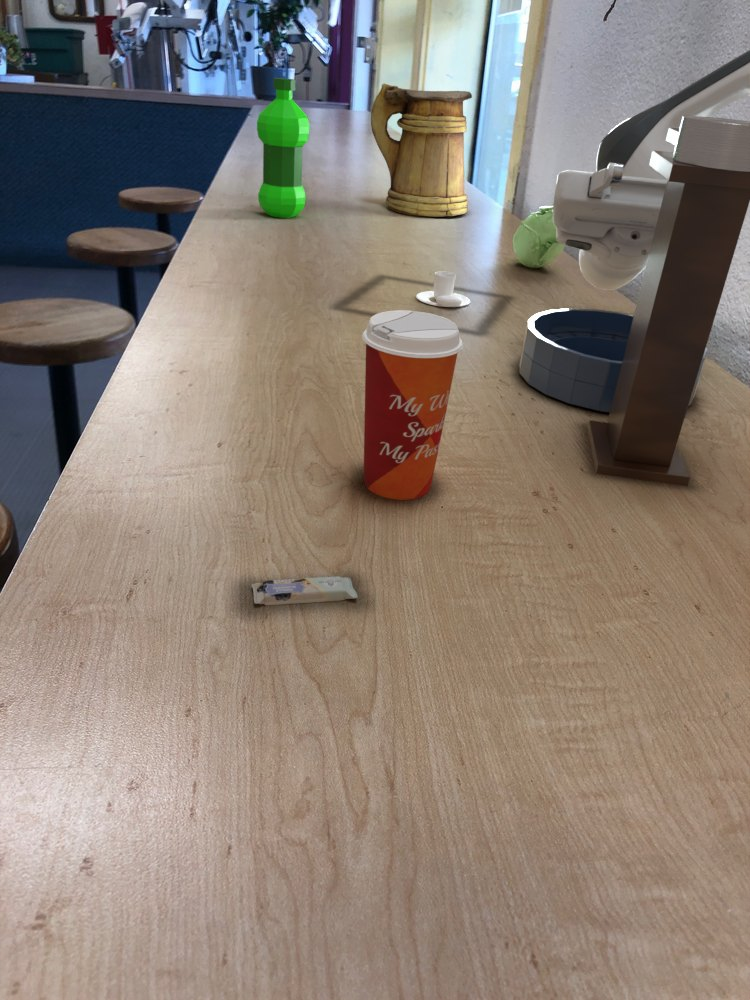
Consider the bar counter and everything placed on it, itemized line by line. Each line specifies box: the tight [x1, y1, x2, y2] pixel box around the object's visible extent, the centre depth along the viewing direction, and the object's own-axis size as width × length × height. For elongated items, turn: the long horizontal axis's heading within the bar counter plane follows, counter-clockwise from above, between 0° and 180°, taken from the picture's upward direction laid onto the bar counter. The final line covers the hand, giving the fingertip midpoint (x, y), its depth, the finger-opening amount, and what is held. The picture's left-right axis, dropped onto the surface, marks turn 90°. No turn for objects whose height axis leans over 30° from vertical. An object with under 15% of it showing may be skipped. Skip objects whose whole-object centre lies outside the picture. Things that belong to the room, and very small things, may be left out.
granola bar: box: [251, 575, 359, 606], centre depth 51 cm, size 7×2×1 cm, turn 101°
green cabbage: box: [512, 205, 566, 269], centre depth 135 cm, size 12×11×11 cm
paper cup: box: [361, 309, 464, 501], centre depth 62 cm, size 8×8×14 cm
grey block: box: [666, 116, 750, 172], centre depth 66 cm, size 7×22×3 cm, turn 171°
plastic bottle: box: [256, 77, 311, 219], centre depth 155 cm, size 10×10×25 cm
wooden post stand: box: [586, 150, 750, 487], centre depth 68 cm, size 8×10×26 cm
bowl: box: [518, 308, 709, 413], centre depth 89 cm, size 20×20×6 cm
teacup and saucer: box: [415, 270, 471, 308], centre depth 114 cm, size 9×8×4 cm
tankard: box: [370, 83, 473, 218], centre depth 174 cm, size 18×24×25 cm
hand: (663, 174), depth 80 cm, fingers open, 8 cm apart
